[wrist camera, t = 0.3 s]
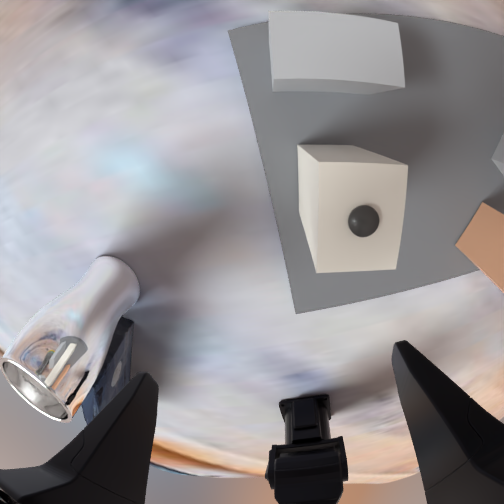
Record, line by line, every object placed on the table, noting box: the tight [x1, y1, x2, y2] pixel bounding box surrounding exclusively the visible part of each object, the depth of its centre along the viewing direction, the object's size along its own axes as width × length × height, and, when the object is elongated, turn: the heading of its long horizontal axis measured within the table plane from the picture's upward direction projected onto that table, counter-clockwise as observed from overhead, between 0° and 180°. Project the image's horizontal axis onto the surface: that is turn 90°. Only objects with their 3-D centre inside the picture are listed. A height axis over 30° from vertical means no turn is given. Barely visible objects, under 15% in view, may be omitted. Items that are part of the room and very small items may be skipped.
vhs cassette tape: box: [81, 317, 134, 425], centre depth 28 cm, size 18×3×10 cm, turn 159°
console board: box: [228, 11, 504, 314], centre depth 16 cm, size 24×30×7 cm
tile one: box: [297, 145, 408, 273], centre depth 16 cm, size 5×4×9 cm
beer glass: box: [0, 256, 140, 423], centre depth 20 cm, size 7×7×15 cm
